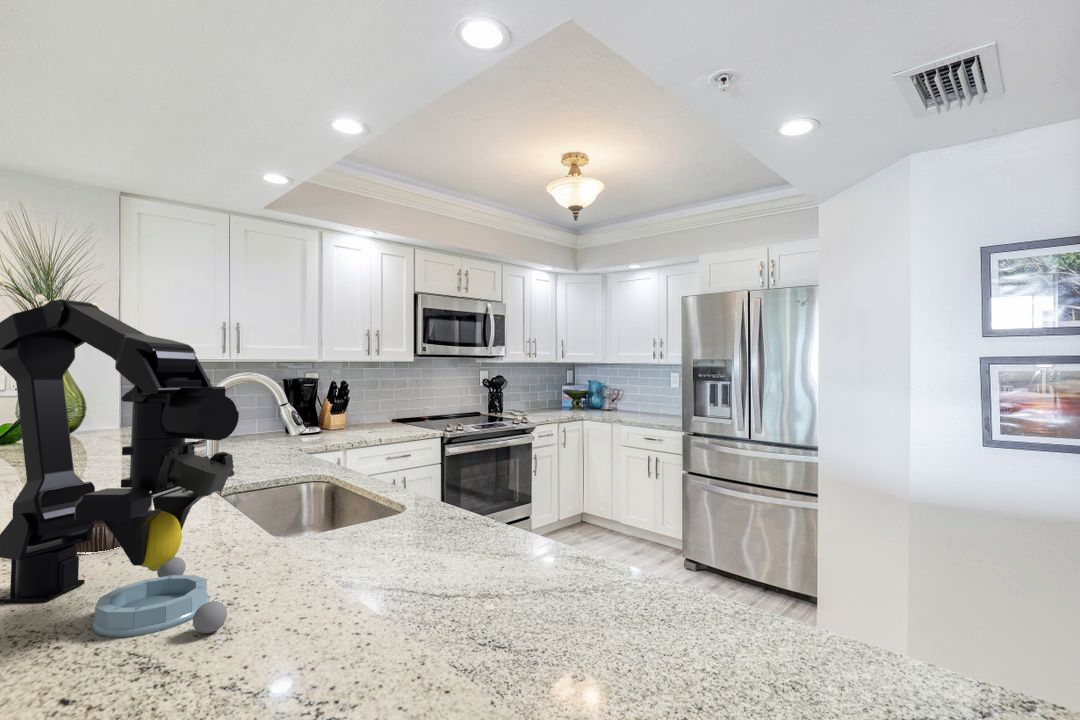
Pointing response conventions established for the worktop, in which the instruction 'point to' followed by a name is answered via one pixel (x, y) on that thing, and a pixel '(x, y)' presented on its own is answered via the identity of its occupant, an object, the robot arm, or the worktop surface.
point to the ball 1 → (172, 567)
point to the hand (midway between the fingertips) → (154, 556)
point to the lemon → (162, 540)
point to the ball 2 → (209, 617)
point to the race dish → (149, 605)
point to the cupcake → (99, 539)
